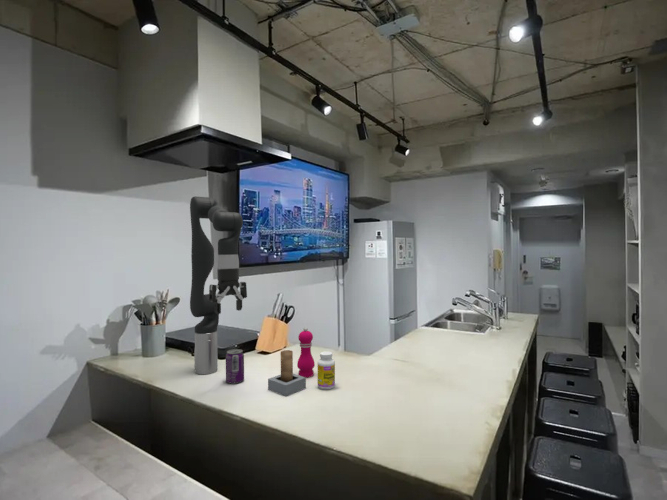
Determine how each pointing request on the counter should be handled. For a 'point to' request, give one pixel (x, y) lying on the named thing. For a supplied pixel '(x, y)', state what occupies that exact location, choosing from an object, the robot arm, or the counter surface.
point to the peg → (286, 365)
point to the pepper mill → (305, 354)
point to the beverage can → (234, 366)
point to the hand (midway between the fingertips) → (228, 311)
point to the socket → (286, 385)
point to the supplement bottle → (326, 371)
